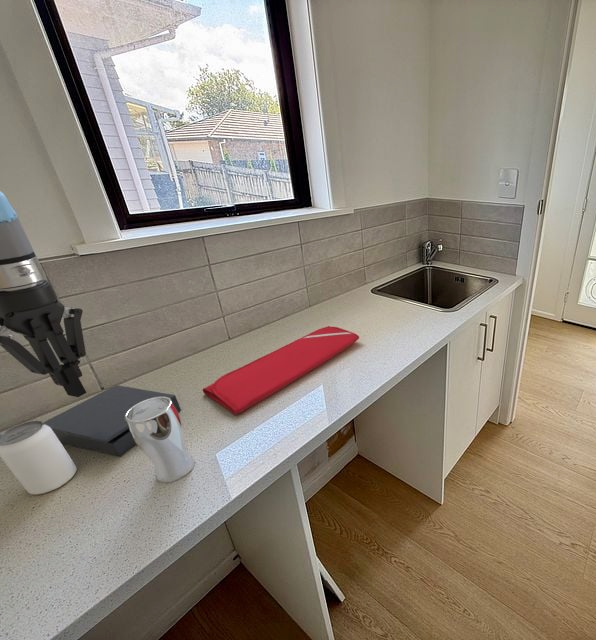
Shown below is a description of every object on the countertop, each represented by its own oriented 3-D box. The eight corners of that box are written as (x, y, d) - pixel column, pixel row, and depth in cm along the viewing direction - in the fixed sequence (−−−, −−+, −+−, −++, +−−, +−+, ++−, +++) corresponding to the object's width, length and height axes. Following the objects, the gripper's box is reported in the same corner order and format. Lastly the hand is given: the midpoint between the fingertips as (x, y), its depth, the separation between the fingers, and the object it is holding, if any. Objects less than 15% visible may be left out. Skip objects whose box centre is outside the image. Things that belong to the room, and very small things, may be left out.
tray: (120, 457, 67) (113, 443, 65) (54, 442, 70) (46, 429, 69) (181, 410, 79) (176, 398, 78) (123, 399, 83) (117, 387, 81)
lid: (106, 443, 64) (105, 439, 64) (39, 428, 67) (37, 425, 67) (176, 397, 78) (175, 395, 77) (117, 387, 81) (116, 384, 81)
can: (83, 475, 63) (52, 427, 58) (34, 502, 58) (-5, 453, 53) (71, 460, 66) (40, 413, 61) (23, 485, 61) (-14, 436, 56)
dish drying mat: (202, 393, 85) (198, 381, 83) (327, 331, 115) (326, 321, 114) (236, 418, 77) (232, 405, 75) (361, 344, 108) (360, 334, 106)
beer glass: (160, 460, 66) (131, 400, 60) (201, 450, 68) (177, 392, 62) (148, 489, 60) (115, 427, 54) (193, 478, 63) (166, 416, 56)
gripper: (-20, 301, 51) (53, 419, 61) (77, 274, 62) (124, 378, 73) (-55, 296, 52) (22, 412, 63) (46, 271, 64) (97, 373, 74)
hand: (77, 393), depth 68 cm, fingers closed
